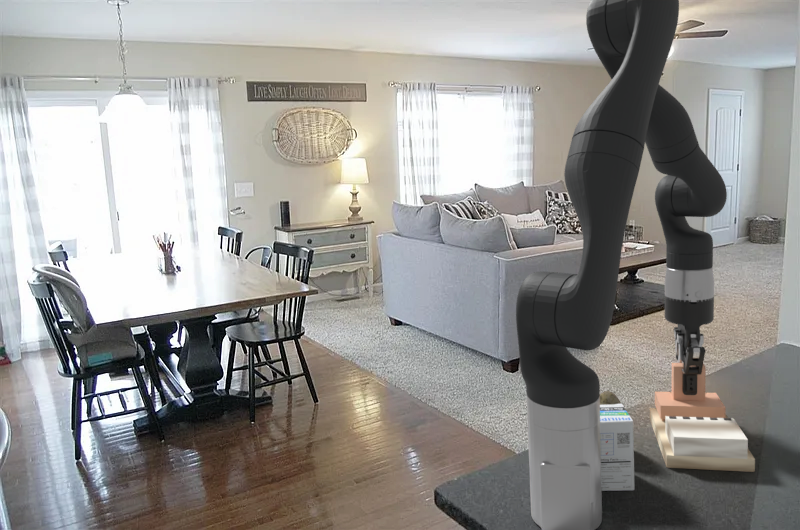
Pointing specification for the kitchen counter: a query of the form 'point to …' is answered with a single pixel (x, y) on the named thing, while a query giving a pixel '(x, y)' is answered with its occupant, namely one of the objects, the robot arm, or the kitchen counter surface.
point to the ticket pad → (693, 460)
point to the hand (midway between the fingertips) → (688, 391)
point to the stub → (688, 398)
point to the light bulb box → (616, 448)
